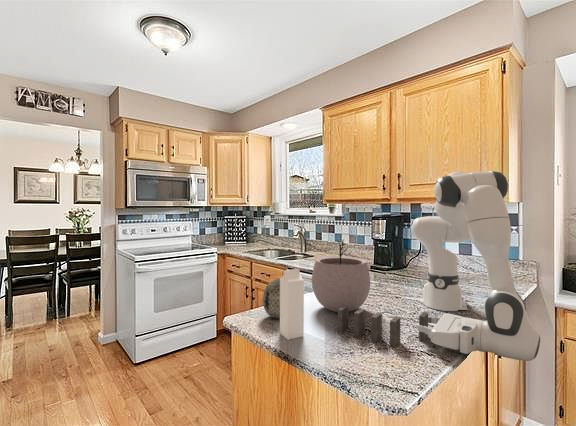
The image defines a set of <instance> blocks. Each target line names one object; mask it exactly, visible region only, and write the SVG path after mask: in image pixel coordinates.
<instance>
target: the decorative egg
mask: <svg viewBox="0 0 576 426" xmlns="http://www.w3.org/2000/svg"><path fill="white" fill-rule="evenodd" d="M262 305H263V308H264V309H263V310H264V311H265V313H266V314H267V315H268V316H270V317H271V318H273V319H280V278H275V279H272V280H271V281H270V282H269V283H268V284H267V285H266V286H265V288H264V291H263V296H262Z"/></svg>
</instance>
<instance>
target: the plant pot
mask: <svg viewBox="0 0 576 426" xmlns="http://www.w3.org/2000/svg"><path fill="white" fill-rule="evenodd" d="M341 240H342V242H340V241H339V240H338V239H337V237H336V241H337V242H338V244H339V256H337V255H335V256H323V257H317V258H316V259H315V261H314V265H313V269H312V274H311V286H312V291H313V293H314V296H315V298H316V300H317V301H318V302H319V304H320V305H321V306H323V307H324V308H326V309H327V310H329V311H332V312H336V313H338V309H339V308H341V307H343V306H344V305H345V306H349V312H353V311H355V310H357V309H358V308H360V307H362V305H363V304H364V303H365V302H366V300H367V298H368V296H369V294H370V288H371V276H370V271H369V265H368V262H367V260H366V259H364V258H359V257H352V256H344V255H343V254H344V252H346V251H347V249H348V248H345V249H344V246H345V245H346V243H345V242H344V239H341ZM343 249H344V250H343ZM342 250H343V251H342Z"/></svg>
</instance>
